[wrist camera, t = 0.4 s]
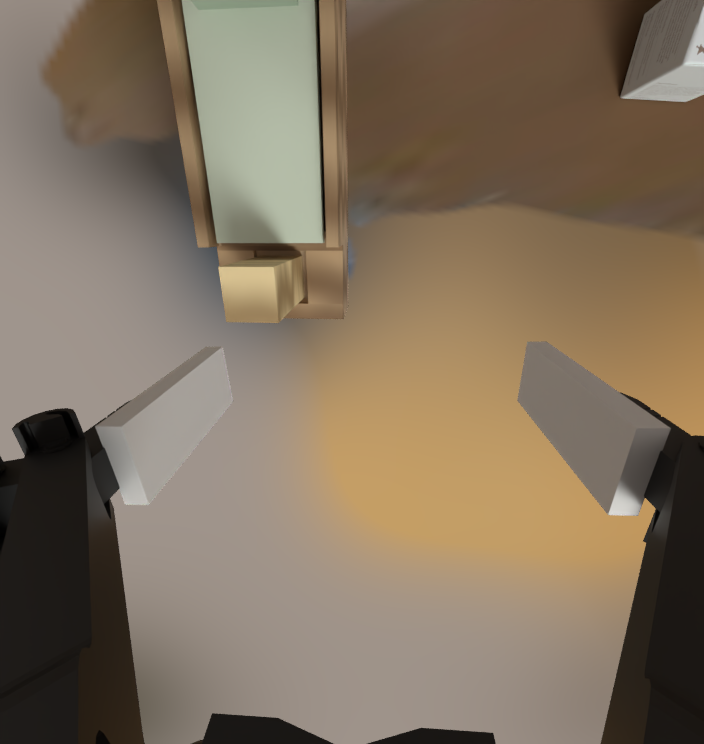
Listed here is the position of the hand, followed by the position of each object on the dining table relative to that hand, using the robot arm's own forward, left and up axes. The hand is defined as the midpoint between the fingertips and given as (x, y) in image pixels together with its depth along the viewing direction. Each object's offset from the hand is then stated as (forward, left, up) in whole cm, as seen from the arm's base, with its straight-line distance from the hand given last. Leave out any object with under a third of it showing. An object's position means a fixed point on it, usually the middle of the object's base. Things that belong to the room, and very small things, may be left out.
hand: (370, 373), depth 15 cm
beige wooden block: (-1, -9, -21) cm, 23 cm away
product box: (-19, +25, -27) cm, 41 cm away
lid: (-15, -9, -18) cm, 25 cm away
